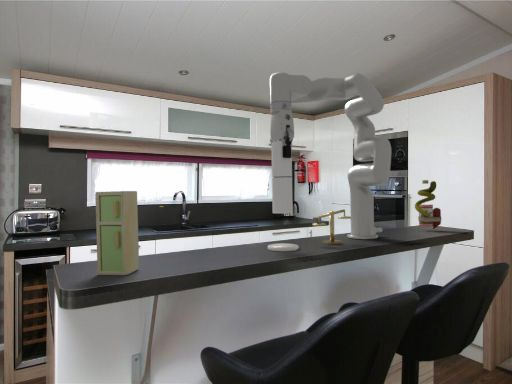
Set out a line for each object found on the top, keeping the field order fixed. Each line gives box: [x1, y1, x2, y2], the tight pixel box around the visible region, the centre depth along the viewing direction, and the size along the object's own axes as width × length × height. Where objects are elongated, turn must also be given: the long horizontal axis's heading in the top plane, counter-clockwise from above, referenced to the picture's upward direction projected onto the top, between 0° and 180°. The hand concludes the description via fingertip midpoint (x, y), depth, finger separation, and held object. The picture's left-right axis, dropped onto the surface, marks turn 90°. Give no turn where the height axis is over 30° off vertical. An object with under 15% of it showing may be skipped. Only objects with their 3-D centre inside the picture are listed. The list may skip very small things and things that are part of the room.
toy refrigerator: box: [94, 190, 140, 276], centre depth 82 cm, size 8×7×21 cm
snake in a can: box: [414, 179, 442, 230], centre depth 158 cm, size 12×10×25 cm
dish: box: [267, 243, 300, 253], centre depth 114 cm, size 11×11×1 cm
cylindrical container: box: [270, 140, 294, 215], centre depth 114 cm, size 7×7×25 cm
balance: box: [311, 209, 351, 246], centre depth 123 cm, size 17×5×13 cm, turn 113°
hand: (281, 158), depth 114 cm, fingers closed on cylindrical container, 7 cm apart
